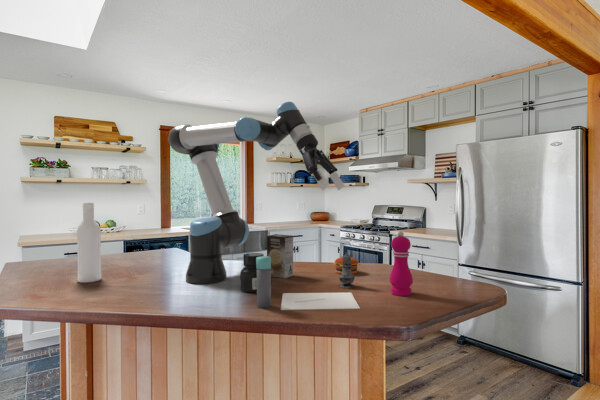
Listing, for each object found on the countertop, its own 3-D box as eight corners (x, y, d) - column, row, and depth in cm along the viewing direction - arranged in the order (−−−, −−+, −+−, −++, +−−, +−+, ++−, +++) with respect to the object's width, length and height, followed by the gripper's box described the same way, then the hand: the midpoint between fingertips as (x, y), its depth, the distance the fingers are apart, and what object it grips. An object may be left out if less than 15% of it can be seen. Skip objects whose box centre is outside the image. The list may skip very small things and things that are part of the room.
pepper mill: (400, 298, 109) (400, 233, 109) (384, 292, 116) (384, 231, 116) (417, 294, 113) (417, 231, 113) (401, 289, 119) (401, 229, 119)
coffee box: (266, 275, 142) (265, 235, 141) (275, 272, 147) (275, 234, 147) (285, 278, 137) (284, 236, 136) (294, 275, 142) (293, 235, 142)
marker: (255, 308, 101) (255, 258, 100) (257, 303, 105) (257, 256, 105) (270, 308, 101) (270, 258, 101) (271, 303, 105) (271, 256, 105)
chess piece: (355, 288, 121) (354, 253, 121) (337, 288, 122) (337, 253, 122) (355, 284, 126) (355, 250, 126) (339, 283, 128) (338, 250, 127)
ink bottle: (259, 294, 115) (258, 257, 114) (235, 292, 118) (234, 256, 118) (271, 287, 124) (271, 252, 124) (249, 285, 127) (248, 251, 127)
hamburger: (330, 272, 148) (330, 256, 148) (349, 269, 152) (349, 254, 152) (343, 276, 140) (342, 259, 140) (363, 274, 144) (362, 257, 144)
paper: (280, 310, 99) (280, 308, 99) (282, 294, 115) (282, 293, 115) (359, 309, 99) (359, 307, 99) (350, 293, 115) (350, 292, 115)
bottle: (79, 283, 131) (78, 202, 131) (75, 280, 137) (74, 202, 137) (103, 280, 136) (102, 202, 136) (98, 276, 142) (97, 201, 142)
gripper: (294, 128, 117) (327, 181, 112) (326, 137, 139) (355, 182, 134) (278, 141, 120) (309, 194, 115) (312, 148, 142) (339, 193, 137)
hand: (334, 188), depth 125 cm, fingers open, 13 cm apart
